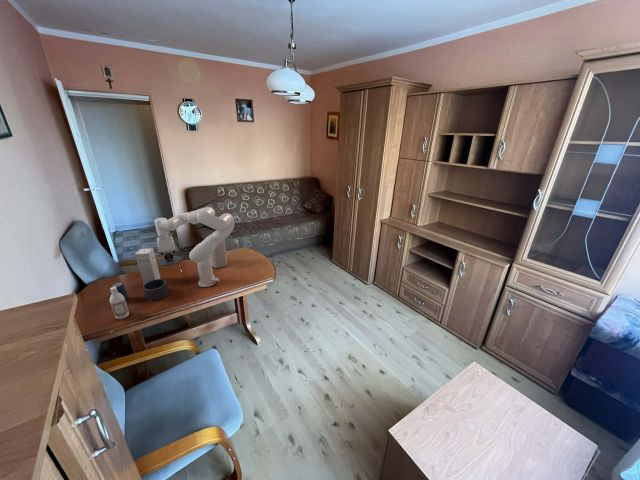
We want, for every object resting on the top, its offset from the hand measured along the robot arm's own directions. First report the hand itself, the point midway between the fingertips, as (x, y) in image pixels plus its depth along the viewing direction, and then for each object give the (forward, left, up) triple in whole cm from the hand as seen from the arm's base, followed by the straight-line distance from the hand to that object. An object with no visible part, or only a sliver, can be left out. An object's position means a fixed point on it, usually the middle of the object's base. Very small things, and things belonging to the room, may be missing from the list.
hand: (169, 259), depth 187 cm
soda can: (+24, +22, -19) cm, 38 cm away
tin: (+4, +16, -19) cm, 25 cm away
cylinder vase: (-24, -28, -19) cm, 42 cm away
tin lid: (0, 0, -1) cm, 1 cm away
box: (+17, -1, -19) cm, 26 cm away
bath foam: (+13, +38, -19) cm, 45 cm away
